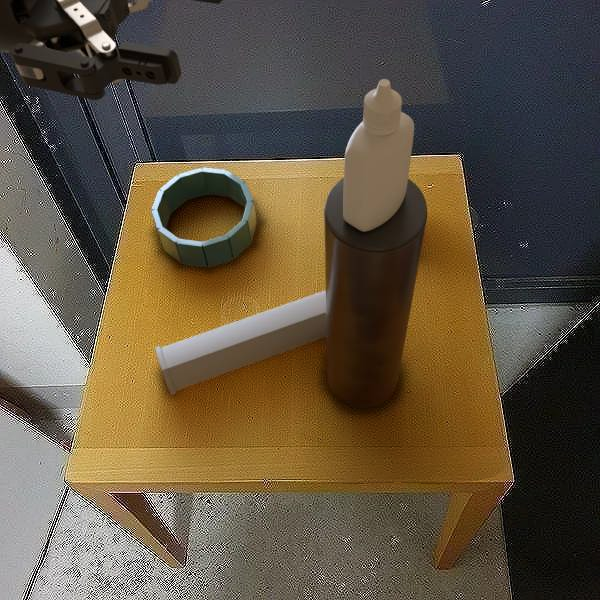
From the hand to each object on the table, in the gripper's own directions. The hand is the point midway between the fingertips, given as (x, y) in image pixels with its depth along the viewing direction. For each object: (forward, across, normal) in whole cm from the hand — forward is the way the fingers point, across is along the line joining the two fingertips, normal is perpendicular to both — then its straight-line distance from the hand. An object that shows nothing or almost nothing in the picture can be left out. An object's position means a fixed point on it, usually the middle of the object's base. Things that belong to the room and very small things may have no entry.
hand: (201, 25), depth 46 cm
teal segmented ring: (-12, +14, +42) cm, 46 cm away
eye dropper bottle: (+13, -2, +13) cm, 18 cm away
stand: (+13, -2, +42) cm, 44 cm away
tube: (+2, -1, +43) cm, 43 cm away
